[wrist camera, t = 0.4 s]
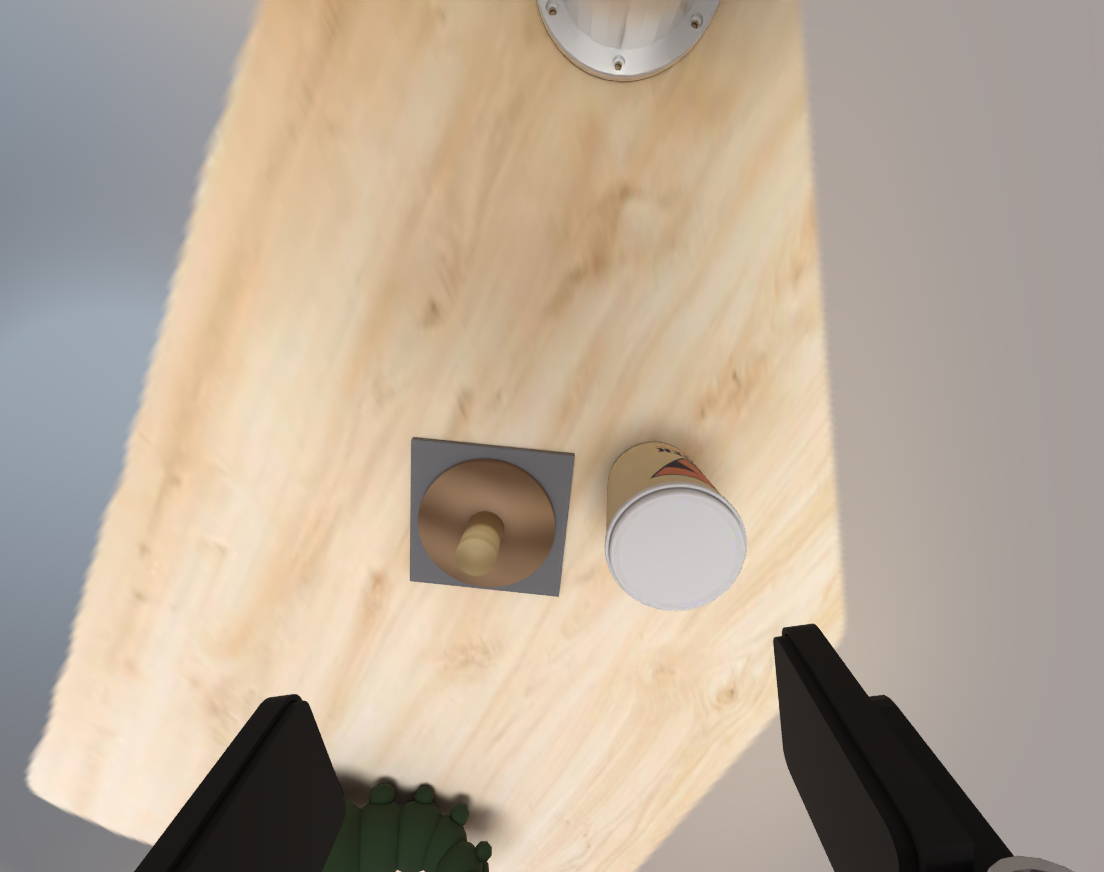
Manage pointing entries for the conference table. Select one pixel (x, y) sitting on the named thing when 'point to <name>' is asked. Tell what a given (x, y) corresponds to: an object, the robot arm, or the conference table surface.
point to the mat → (542, 465)
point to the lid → (487, 523)
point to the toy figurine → (405, 837)
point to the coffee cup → (670, 530)
